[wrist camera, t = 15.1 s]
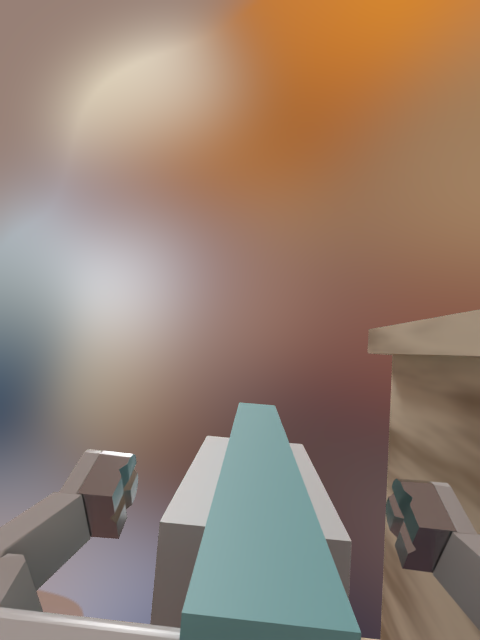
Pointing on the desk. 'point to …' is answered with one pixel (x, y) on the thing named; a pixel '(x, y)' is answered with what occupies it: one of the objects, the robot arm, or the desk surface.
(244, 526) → the teal rectangular bar
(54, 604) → the desk surface
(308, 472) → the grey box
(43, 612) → the robot arm
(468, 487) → the birch shelf
